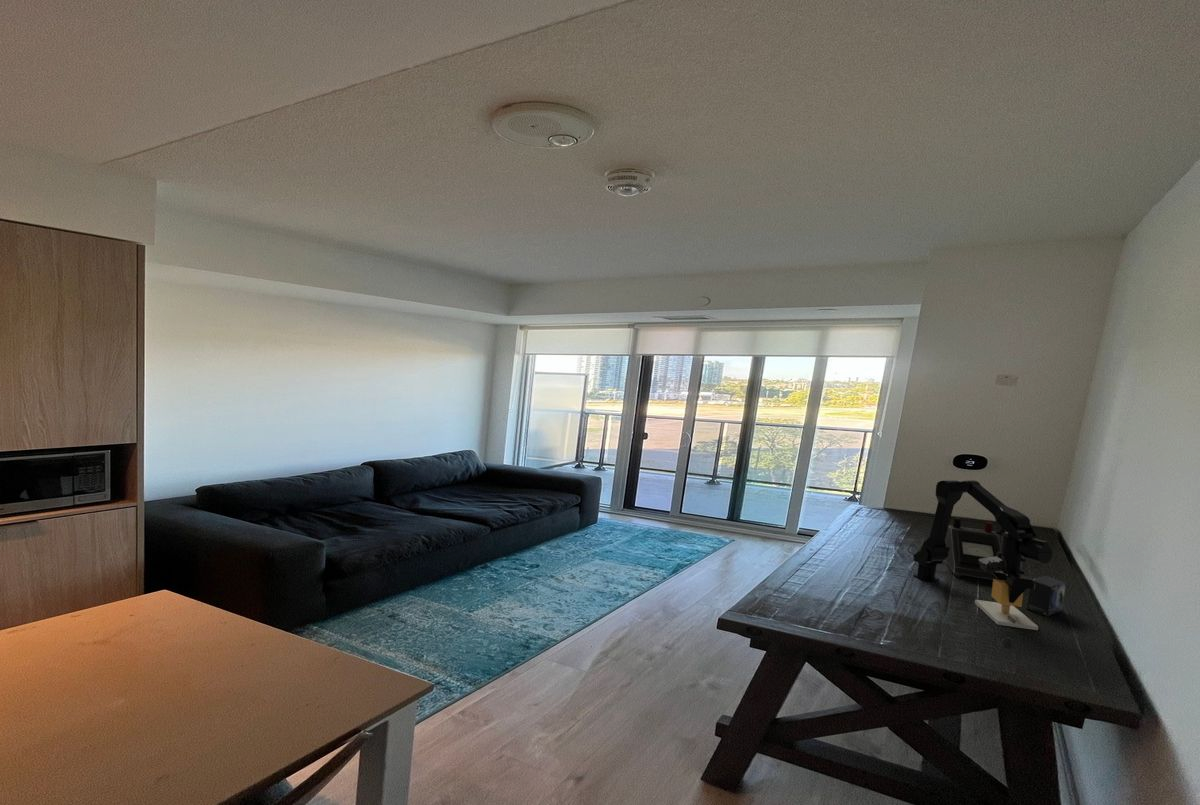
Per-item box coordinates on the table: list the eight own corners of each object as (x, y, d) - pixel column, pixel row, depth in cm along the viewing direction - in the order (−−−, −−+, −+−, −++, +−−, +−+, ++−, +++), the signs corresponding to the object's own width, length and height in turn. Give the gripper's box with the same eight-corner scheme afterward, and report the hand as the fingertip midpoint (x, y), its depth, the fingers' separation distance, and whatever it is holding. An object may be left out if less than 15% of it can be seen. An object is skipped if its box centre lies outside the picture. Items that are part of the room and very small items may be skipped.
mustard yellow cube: (991, 596, 178) (993, 579, 178) (1011, 599, 177) (1014, 581, 176) (1000, 604, 172) (1002, 586, 172) (1021, 607, 171) (1023, 589, 171)
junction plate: (974, 603, 184) (976, 589, 184) (1011, 608, 181) (1012, 594, 181) (998, 625, 168) (999, 610, 168) (1038, 631, 165) (1040, 616, 165)
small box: (1048, 617, 176) (1051, 586, 175) (1025, 608, 182) (1028, 579, 181) (1063, 611, 181) (1067, 581, 180) (1040, 603, 186) (1044, 574, 186)
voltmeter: (953, 577, 208) (959, 526, 206) (944, 563, 223) (949, 516, 221) (1003, 585, 202) (1009, 533, 200) (990, 570, 217) (995, 522, 215)
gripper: (971, 540, 184) (966, 583, 186) (997, 558, 166) (992, 607, 167) (1008, 544, 182) (1003, 588, 183) (1038, 563, 164) (1033, 612, 165)
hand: (1006, 598), depth 175 cm, fingers closed on mustard yellow cube, 6 cm apart
